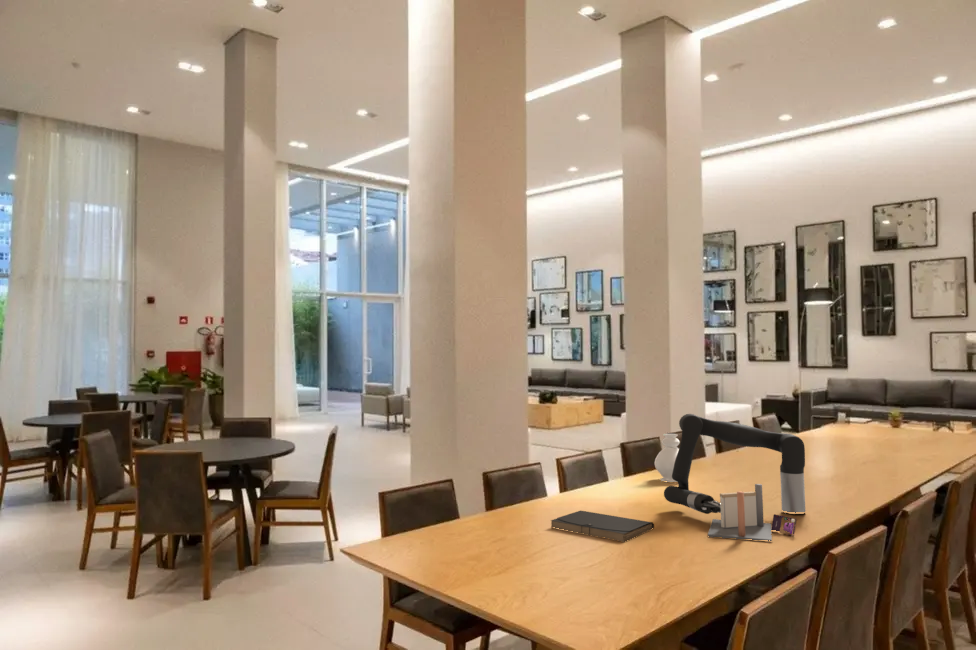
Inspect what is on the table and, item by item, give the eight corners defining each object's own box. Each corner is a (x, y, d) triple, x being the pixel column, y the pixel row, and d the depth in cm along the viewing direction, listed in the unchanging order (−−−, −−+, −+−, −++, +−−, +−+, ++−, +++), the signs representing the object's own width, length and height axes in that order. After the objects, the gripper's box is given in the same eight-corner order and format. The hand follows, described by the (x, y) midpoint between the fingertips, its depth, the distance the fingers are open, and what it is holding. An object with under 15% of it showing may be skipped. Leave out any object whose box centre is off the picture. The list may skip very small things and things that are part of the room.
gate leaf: (754, 524, 254) (753, 491, 255) (757, 525, 252) (756, 492, 253) (721, 526, 252) (719, 493, 252) (723, 527, 250) (722, 494, 250)
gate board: (712, 521, 265) (711, 479, 266) (771, 526, 256) (769, 482, 257) (707, 536, 243) (706, 491, 244) (771, 542, 234) (769, 495, 235)
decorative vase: (692, 479, 354) (691, 433, 356) (683, 485, 339) (682, 437, 341) (660, 476, 364) (659, 431, 365) (650, 482, 349) (649, 435, 350)
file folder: (550, 519, 259) (582, 508, 278) (550, 529, 259) (583, 518, 277) (623, 532, 238) (653, 520, 256) (624, 544, 238) (654, 531, 256)
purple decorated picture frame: (772, 513, 249) (794, 518, 242) (780, 516, 252) (802, 521, 245) (769, 531, 248) (792, 536, 240) (777, 533, 250) (799, 539, 243)
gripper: (687, 494, 266) (715, 503, 250) (713, 491, 271) (743, 500, 255) (687, 513, 266) (716, 523, 250) (714, 510, 271) (743, 519, 254)
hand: (729, 511), depth 252 cm, fingers closed
